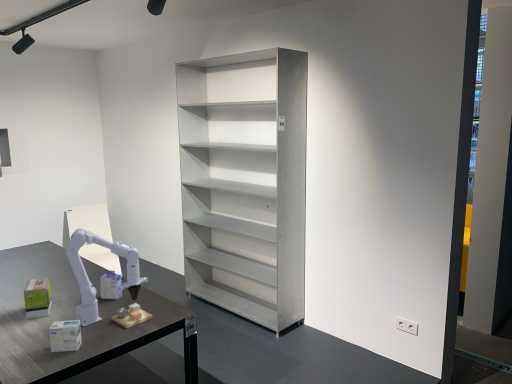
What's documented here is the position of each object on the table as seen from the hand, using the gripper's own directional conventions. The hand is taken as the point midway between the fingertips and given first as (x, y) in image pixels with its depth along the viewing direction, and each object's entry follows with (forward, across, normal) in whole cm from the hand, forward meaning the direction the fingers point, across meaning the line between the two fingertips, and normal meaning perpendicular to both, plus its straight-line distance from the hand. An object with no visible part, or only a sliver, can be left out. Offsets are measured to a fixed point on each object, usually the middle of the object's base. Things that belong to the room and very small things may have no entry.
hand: (134, 299), depth 206 cm
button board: (+8, -4, -3) cm, 9 cm away
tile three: (+6, -7, 0) cm, 9 cm away
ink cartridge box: (+8, +4, +28) cm, 29 cm away
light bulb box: (+8, -37, -6) cm, 38 cm away
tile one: (+6, -4, -6) cm, 9 cm away
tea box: (+8, -30, +38) cm, 49 cm away
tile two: (+6, 0, 0) cm, 6 cm away
